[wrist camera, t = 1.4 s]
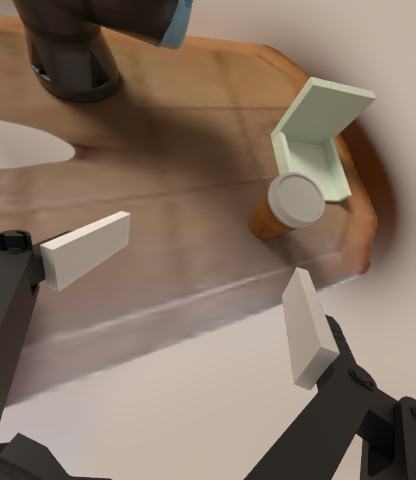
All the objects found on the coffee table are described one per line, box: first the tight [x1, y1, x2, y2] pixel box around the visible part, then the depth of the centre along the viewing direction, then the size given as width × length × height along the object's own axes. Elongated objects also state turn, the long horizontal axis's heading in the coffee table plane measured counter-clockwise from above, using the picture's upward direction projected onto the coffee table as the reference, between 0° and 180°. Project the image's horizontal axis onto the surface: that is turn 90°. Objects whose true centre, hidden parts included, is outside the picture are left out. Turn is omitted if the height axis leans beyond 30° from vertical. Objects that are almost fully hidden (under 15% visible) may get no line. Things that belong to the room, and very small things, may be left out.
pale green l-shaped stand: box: [271, 77, 376, 202], centre depth 44 cm, size 18×15×14 cm
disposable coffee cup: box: [249, 172, 325, 239], centre depth 37 cm, size 10×10×12 cm
